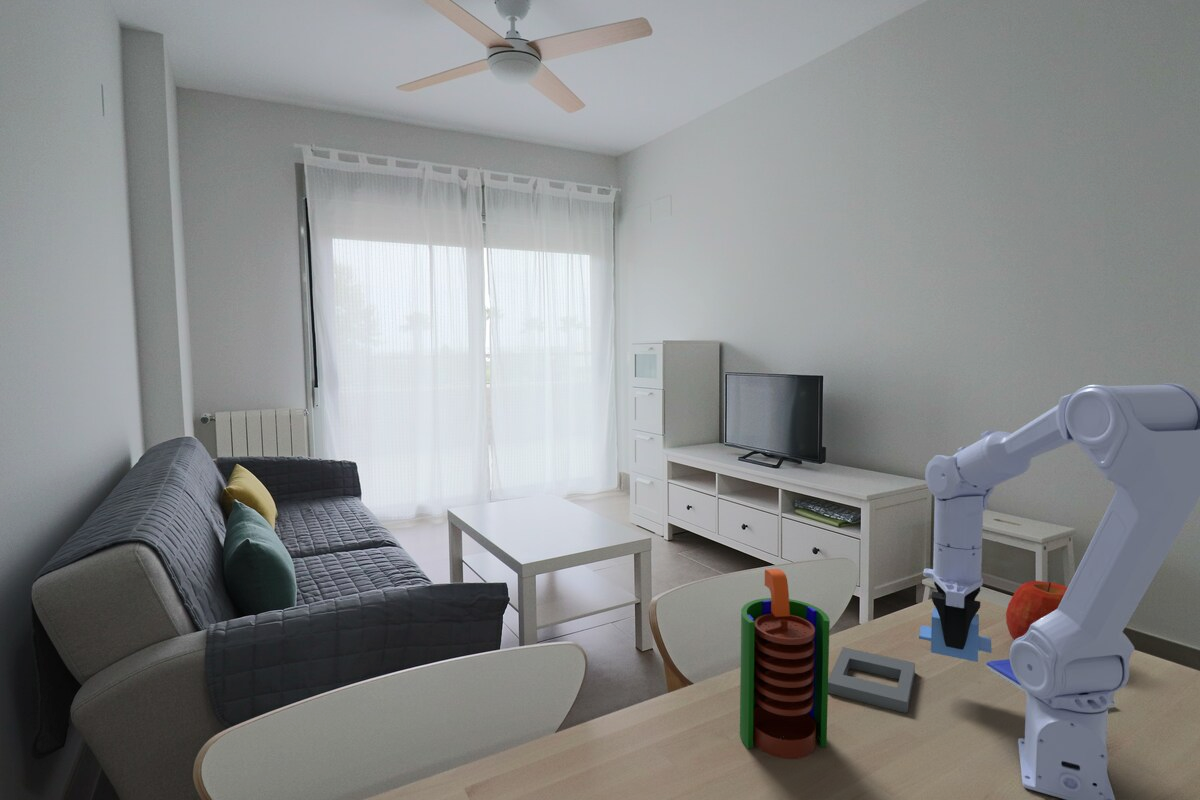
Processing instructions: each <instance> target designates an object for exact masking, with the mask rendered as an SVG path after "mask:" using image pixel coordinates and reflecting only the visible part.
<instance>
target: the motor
mask: <svg viewBox="0 0 1200 800" xmlns="http://www.w3.org/2000/svg"><path fill="white" fill-rule="evenodd" d="M764 586H765V587H767V589H769V592H770V597H766V598H764V597H763V598H758V599H754V600H751V601H749V602H747V603H745V604H744V605H743V606H742V608H741V611H740V615H741V616H740V679H739V680H740V687H739V688H740V690H739V694H740V695H739V737H740V740H741V742H742V743H743V745H744V746H745V748H746V749H747V750H750V749H753V747H754V745H755V747H757V748H758V749H759V750H760V751H762V752H764V753H766V754H768V755H769V756H772V757H776V758H780V759H787V760H795V759H802V758H806V757H807V756H810V755H811V754H812V753H813V752H814V751H815V748H816V743H817V742H816V739H819V740H818V741H819V743H820V747H823V748H827V744H828V743H827V741H828V740H827V737H828V703H829V702H828V701H829V697H828V696H829V695H828V694H829V693H828V679H829V665H830V664H829V663H830V662H829V660H830V654H829V653H830V622H831V621H830V618H829V615H828V614H827V613H826V612H825V611H824V610H822V609H821V608H819V607H818V606H815V605H812V604H810V603H807V602H804V601H801V600H797V599H792V598H790V597H789V596H790V593H789V583H788V578H787V575H786V573H785V572H784V571H783V570H782V569H779V568H769V569H768V568H767V569H764Z"/></svg>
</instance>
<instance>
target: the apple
mask: <svg viewBox="0 0 1200 800" xmlns="http://www.w3.org/2000/svg"><path fill="white" fill-rule="evenodd" d="M1067 588H1068V587H1067V586H1065V585H1063V584H1061V583H1060V584H1059V583H1056V582H1050V581H1048V582H1047V581H1041V580H1030V581H1027V582H1025V583H1022V584H1021V585H1020V586H1019V587H1018V588H1017V589H1016V590H1015V592H1014V593H1013V595H1012V597H1011V598H1010V600H1009V602H1008V604H1007V608H1006V611H1005V619H1006V621H1005V623H1006V626H1007V630H1008V632H1009V635H1010V637H1011V638H1012V639H1013V641H1014V640H1015V639H1017V638H1019V637H1021V636H1023V635H1025V634H1026V633H1027V631H1028V630H1029V627H1030V625H1031V624H1032V623H1034V622H1036V621H1037V620H1039V619H1041V618H1042V617H1044V616H1046V615H1048V614H1049V613H1051V612H1053V611H1054V610H1056V609H1057V608H1058V606H1059V604H1060V602H1061V600H1062V598H1063V596H1064V594H1065V592H1066V590H1067Z"/></svg>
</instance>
